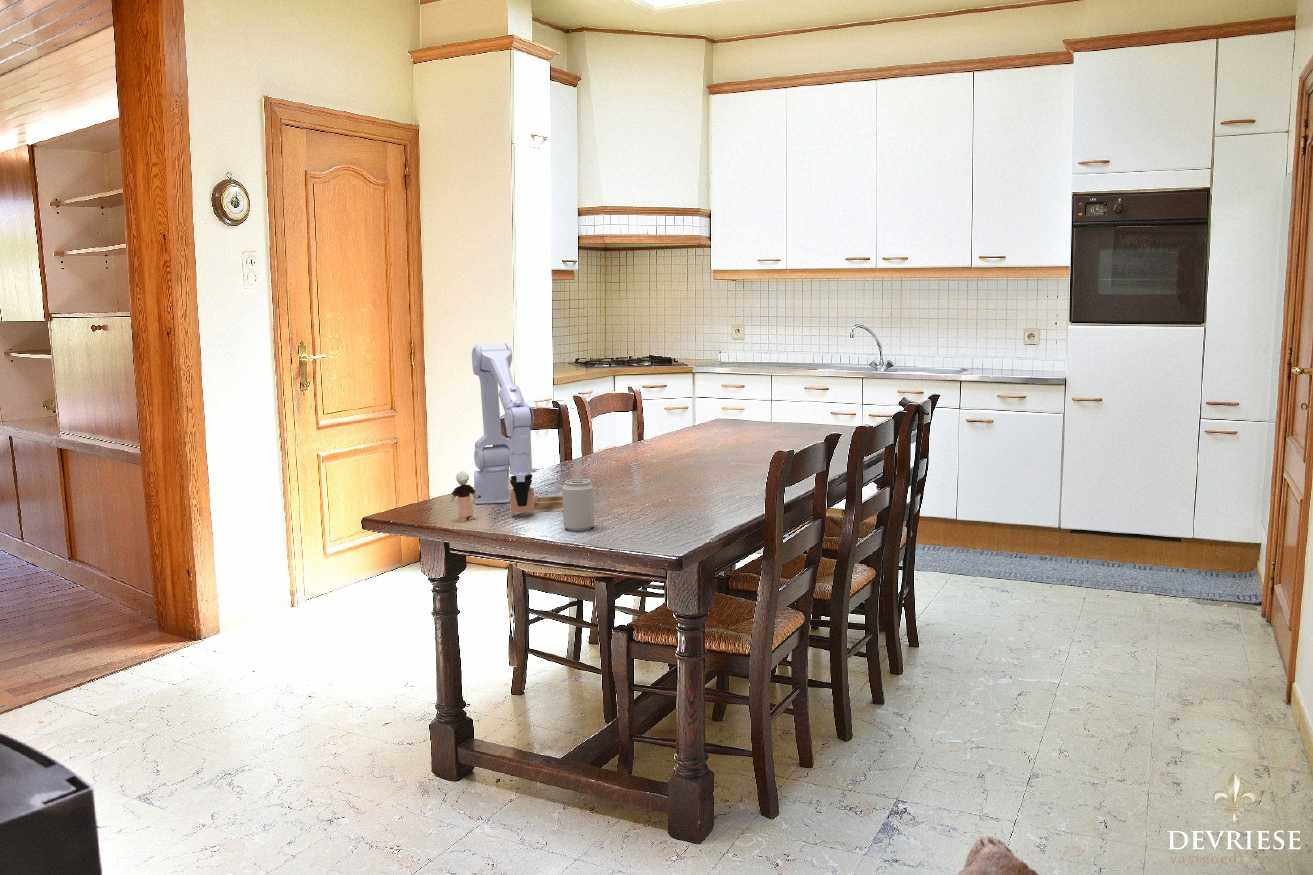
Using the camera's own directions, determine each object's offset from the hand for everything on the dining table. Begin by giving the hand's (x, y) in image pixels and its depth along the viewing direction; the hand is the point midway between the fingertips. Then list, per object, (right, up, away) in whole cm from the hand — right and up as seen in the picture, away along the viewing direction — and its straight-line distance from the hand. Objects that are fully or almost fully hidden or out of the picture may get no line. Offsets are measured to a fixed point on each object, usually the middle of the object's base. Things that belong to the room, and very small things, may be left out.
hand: (522, 504), depth 267 cm
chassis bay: (+7, -2, +10) cm, 12 cm away
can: (+16, -5, -15) cm, 23 cm away
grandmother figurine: (-15, -4, -3) cm, 15 cm away
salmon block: (0, -2, 0) cm, 2 cm away
